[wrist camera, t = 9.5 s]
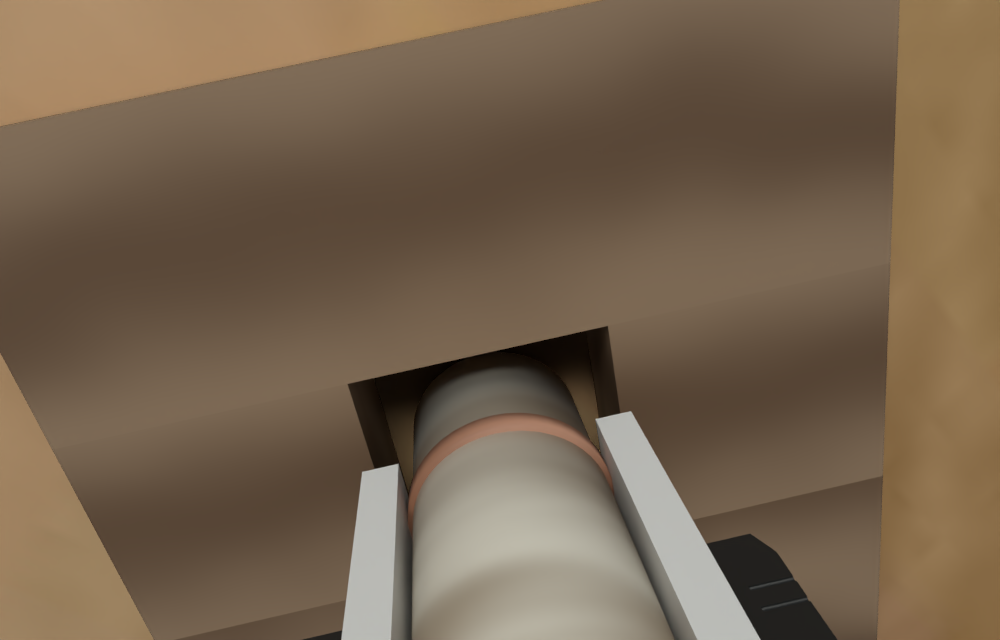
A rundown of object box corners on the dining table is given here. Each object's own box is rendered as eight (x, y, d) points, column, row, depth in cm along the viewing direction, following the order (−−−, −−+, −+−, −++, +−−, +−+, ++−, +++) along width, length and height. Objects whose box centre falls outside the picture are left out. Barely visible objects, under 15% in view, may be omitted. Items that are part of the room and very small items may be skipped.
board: (820, 706, 25) (871, 790, 22) (320, 826, 24) (308, 928, 21) (813, -44, 15) (901, -61, 12) (-10, 128, 15) (-109, 150, 12)
